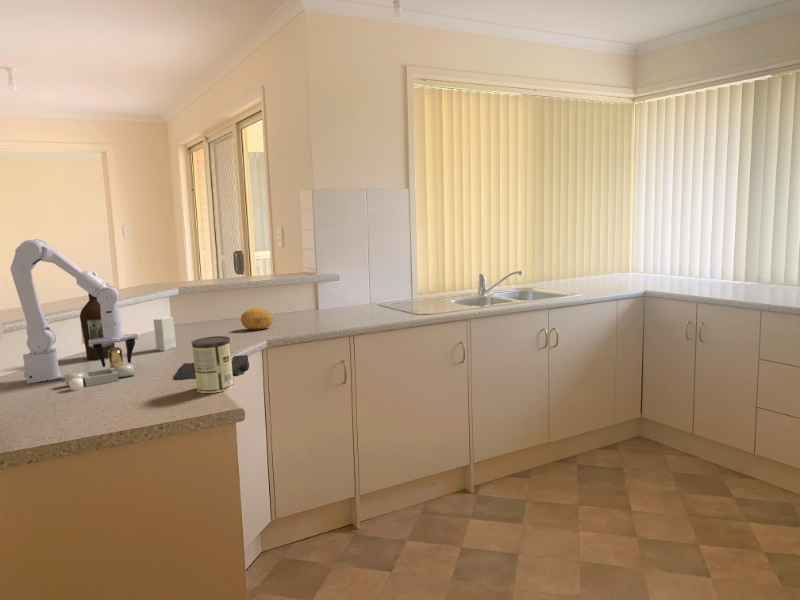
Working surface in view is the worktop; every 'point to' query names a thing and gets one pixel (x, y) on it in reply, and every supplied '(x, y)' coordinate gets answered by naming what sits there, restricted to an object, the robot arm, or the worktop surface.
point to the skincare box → (164, 333)
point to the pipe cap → (76, 384)
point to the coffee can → (213, 364)
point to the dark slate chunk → (238, 368)
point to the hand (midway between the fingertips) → (116, 364)
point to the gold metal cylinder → (115, 357)
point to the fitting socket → (102, 375)
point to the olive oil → (93, 327)
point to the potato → (256, 319)
